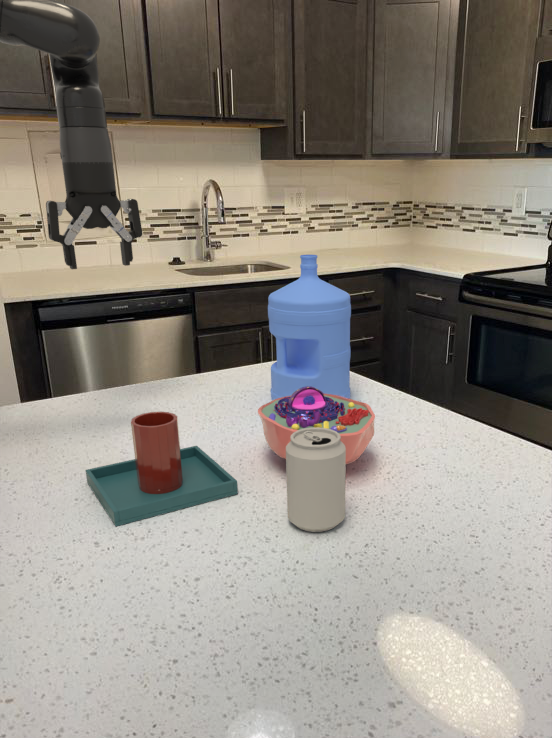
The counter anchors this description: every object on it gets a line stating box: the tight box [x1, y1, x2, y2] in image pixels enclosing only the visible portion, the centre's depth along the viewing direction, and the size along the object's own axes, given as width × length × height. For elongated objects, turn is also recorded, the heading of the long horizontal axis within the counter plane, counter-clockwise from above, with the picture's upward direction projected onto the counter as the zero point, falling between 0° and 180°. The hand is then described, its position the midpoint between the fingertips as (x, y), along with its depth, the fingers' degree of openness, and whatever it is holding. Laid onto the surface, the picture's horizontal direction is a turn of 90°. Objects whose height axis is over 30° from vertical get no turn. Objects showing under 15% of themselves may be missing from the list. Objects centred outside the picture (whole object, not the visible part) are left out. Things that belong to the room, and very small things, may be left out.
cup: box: [130, 411, 183, 494], centre depth 93 cm, size 6×6×10 cm
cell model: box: [257, 386, 376, 466], centre depth 102 cm, size 17×20×11 cm
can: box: [285, 427, 347, 533], centre depth 84 cm, size 8×8×12 cm
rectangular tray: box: [84, 445, 239, 527], centre depth 95 cm, size 17×15×2 cm
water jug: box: [267, 254, 352, 401], centre depth 126 cm, size 16×16×28 cm
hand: (100, 266), depth 109 cm, fingers open, 8 cm apart
